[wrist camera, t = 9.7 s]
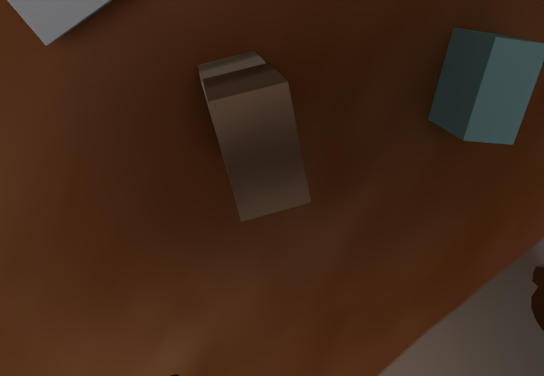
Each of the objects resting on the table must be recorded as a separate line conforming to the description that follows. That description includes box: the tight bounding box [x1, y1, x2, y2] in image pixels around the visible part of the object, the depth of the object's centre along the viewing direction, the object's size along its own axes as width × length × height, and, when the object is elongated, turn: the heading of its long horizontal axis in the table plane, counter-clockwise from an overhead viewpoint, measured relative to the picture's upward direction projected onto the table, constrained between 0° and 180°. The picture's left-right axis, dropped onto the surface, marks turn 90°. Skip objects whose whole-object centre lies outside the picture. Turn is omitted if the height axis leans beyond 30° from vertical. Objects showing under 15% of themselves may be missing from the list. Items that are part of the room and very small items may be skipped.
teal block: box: [428, 28, 544, 145], centre depth 29 cm, size 6×4×4 cm, turn 172°
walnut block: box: [203, 63, 311, 222], centre depth 23 cm, size 6×4×4 cm, turn 12°
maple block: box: [198, 51, 266, 181], centre depth 27 cm, size 6×4×4 cm, turn 13°
